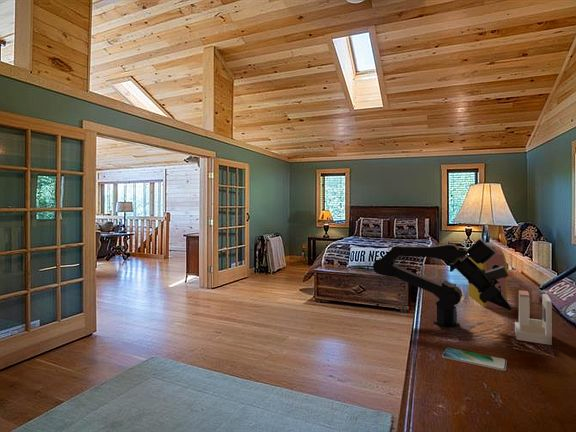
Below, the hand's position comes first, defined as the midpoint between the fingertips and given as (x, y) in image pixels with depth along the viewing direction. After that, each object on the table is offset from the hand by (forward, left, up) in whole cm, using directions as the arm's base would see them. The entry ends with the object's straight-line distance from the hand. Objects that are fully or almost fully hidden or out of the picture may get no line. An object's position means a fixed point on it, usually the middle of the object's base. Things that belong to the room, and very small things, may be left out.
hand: (510, 309), depth 113 cm
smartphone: (-29, -8, -9) cm, 31 cm away
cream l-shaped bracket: (+3, -5, -8) cm, 10 cm away
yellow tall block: (+31, +30, -8) cm, 44 cm away
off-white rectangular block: (+2, -3, -5) cm, 6 cm away
